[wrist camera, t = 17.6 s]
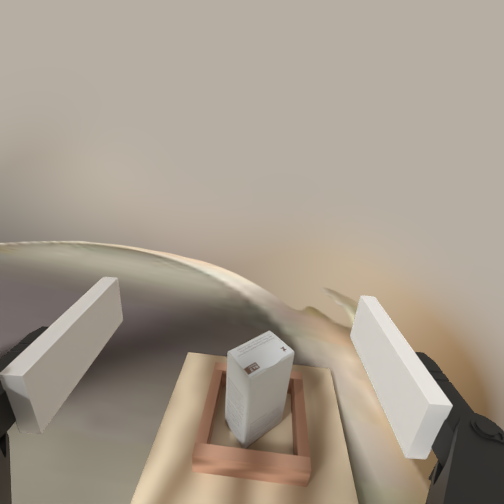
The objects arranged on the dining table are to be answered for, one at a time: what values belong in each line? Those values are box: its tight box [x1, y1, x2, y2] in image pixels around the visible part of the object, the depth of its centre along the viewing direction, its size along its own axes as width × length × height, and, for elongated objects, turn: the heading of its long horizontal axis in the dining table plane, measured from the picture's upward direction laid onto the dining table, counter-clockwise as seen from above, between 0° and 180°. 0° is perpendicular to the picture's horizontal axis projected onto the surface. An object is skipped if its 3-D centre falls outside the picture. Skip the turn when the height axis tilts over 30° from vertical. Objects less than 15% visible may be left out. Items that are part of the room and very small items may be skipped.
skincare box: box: [225, 331, 294, 449], centre depth 32 cm, size 6×4×12 cm
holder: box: [131, 352, 358, 504], centre depth 34 cm, size 22×20×4 cm
